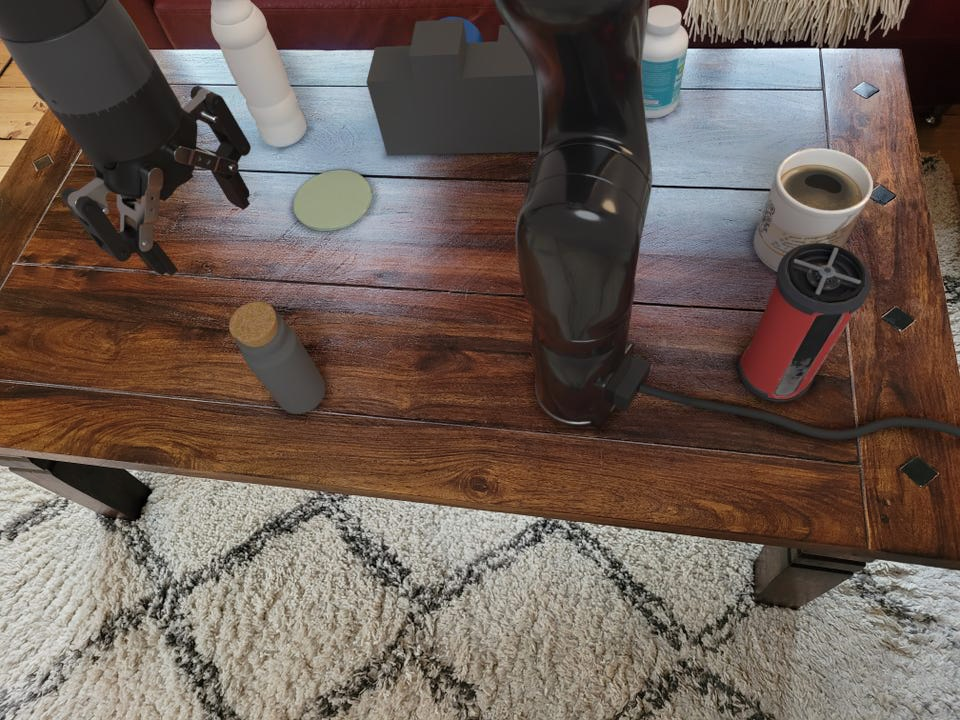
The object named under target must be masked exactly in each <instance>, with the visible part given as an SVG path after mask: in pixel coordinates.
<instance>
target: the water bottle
mask: <svg viewBox="0 0 960 720" xmlns="http://www.w3.org/2000/svg"><path fill="white" fill-rule="evenodd" d="M210 2H211V7H210V15H211V17H210V29H211V34H212V36H213V38H214V41H215V42H216V43H217V44H218V45H219V49H220V51H221V53H222V57H223V58H224V61H225V63H226V66H227V67H228V70H229V72H230V75H231V76H232V78H233V80H234V82H235V84H236V86H237V88H238V90H239V91H240V94H241V95H242V97H243V99H244V100H245V103H246V107H247V109H248V112H249V114H250V115H251V118H252V119H253V120H254V122H255V125H256V126H255V127H256V128H257V131H258V133H259V136H260V137H261V140H262V141H263V142H264V143H265V144H266V145H268V146H270V147H275V148H286V147H290V146H293V145H294V144H296V143H298V142H299V141H300V140H302V139H303V137H304V136H305V134H306V132H307V129H308V125H307V121H306V118H305V115H304V114H303V111H302V110H301V107H300V106H299V102H298V98H297V96H296V94H295V91H294V89H293V87H292V86H291V84H290V81H289V78H288V75H287V71H286V68H285V65H284V63H283V61H282V58H281V55H280V53H279V51H278V48H277V46H276V43H275V41H274V39H273V37H272V35H271V32H270V30H269V29H268V24H267V20H266V17H265V14H264V13H263V12H262V10H260V8H259V7H258V6H256V5H255V4H254V3H253V2H252V1H251V0H210Z"/></svg>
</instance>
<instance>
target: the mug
mask: <svg viewBox="0 0 960 720" xmlns="http://www.w3.org/2000/svg"><path fill="white" fill-rule="evenodd" d="M873 191H874V181H873V177H872V175H871V172H870V171H869V169H868V168H867V167H866V165H864V164H863V163H862V162H861V161H860V160H858V159H857V158H855V157H854V156H852V155H849V153H845V152H843V151H841V150H836V149H833V148H832V149H831V148H826V147H824V148H823V147H802V148H801V149H800V150H798V151H795V152H793V153H791V154H790V155H788V156H787V157H786V158H784V160H783V161H781V163H780V164H779V166H778V168H777V170H776V173H775V175H774V179H773V182H772V184H771V187H770V190H769V193H768V194H767V198H766V201H765V203H764V207H763V210H762V212H761V214H760V218H759V221H758V223H757V226H756V228H755V232H754V235H753V239H752V240H753V248H754V251H755V254H756V256H757V258H759V260H760V261H761V263H763V264H764V265H765V266H767V267H768V268H769V269H771V270H772V271H774V272H776V273H777V270H778V266H779V263H780V261H781V259H782V258H783V257H784V255H785V254H786V253H787V252H789V251H790V250H792V249H794V248H795V247H798V246H800V245H804V244H810V243H825V244H831V245H836V246H839V247H841V248H844V247H845V245H846V243H847V241H848V240H849V238H850V236H851V234H852V232H853V230H854V228H855V226H856V225H857V223H858V221H859V219H860V217H861V215H862V213H863V211H864V209H865V208H866V206H867V204H868V202H869V201H870V199H871V197H872V194H873Z"/></svg>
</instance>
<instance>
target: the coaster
mask: <svg viewBox="0 0 960 720" xmlns="http://www.w3.org/2000/svg"><path fill="white" fill-rule="evenodd" d="M372 200H373V191H372V188H371V185H370V184H369V182H368V180H367V179H366V178H365V177H364V176H363V175H362V174H359V173H357V172H354V171H351V170H348V169H347V170H346V169H334V170H329V171H325V172H322V173H319V174H317V175H315V176H313V177H311V178H310V179H309V180H307V181H305V183H304V184H302V186H301V187H299V189H298V190H297V192H296V194H295V196H294V198H293V205H292V207H293V212H294V214H295V217H296V218H297V220H298V221H299V223H301V224H302V225H303V226H304V227H306V228H308V229H311V230H314V231H319V232H332V231H337V230H341V229H344V228H347V227H349V226H351V225H353V224H354V223H356V222H357V221H358V220H360V219H361V218H362V217H363V216H364V215H365V214H366V212H367V211H368V210H369V208H370V206H371V203H372Z"/></svg>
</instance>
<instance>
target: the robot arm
mask: <svg viewBox="0 0 960 720" xmlns="http://www.w3.org/2000/svg"><path fill="white" fill-rule="evenodd" d="M492 1H493V3H494V5H495V7H496V9H497V11H498V13H499V16H500V17H501V19H502V21H503V23H504V25H507V27H508V29H509V30H510V32H511V33H512V35H513V36H514V38H515V39H516V41H517V42H518V43H519V45H520V46H521V48H522V49H523V51H524V52H525V54H526V56H527V57H528V59H529V61H530V64H531V66H532V69H533V73H534V76H535V81H536V87H537V95H538V106H539V126H540V139H539V151H538V153H537V157H536V161H535V165H534V168H533V171H532V174H531V177H530V179H529V182H528V186H527V189H526V192H525V194H524V198H523V200H522V204H521V207H520V210H519V212H518V214H517V215H518V216H517V220H516V223H515V224H516V225H515V239H514V241H515V252H516V261H517V267H518V274H519V280H520V281H519V282H520V286H521V287H520V288H521V291H522V295H523V297H524V299H525V301H526V302H527V303H528V305H529V307H530V308H529V309H530V323H531V338H532V340H531V341H532V353H533V367H534V368H533V369H534V393H535V398H536V401H537V404H538V406H539V408H540V409H541V410H542V412H543V413H544V414H545V415H546V416H547V417H548V418H550V420H553V421H554V422H556V423H558V424H559V425H563V426H566V427H569V428H570V427H572V428H587V427H592V428H593V429H594V428H595V429H596V430H601V429H602V428H603V427H604V426H605V424H606V422H607V420H608V419H609V417H610V416H611V415H612V413H613V412H614V411H615V409H617V407H618V408H620V409H622V410H624V411H627V410H628V408H630V406H631V404H632V402H633V401H634V399H635V397H636V396H637V394H638V393H640V394H643V395H647V396H651V397H654V398H657V399H659V400H664V401H668V402H672V403H676V404H679V405H684V406H689V407H694V408H698V409H703V410H709V411H715V412H720V413H726V414H731V415H736V416H740V417H747V418H751V419H756V420H759V421H763V422H767V423H770V424H774V425H777V426H780V427H783V428H785V429H788V430H790V431H793V432H795V433H799V434H802V435H804V436H809V437H812V438H816V439H823V440H831V441H841V440H842V441H843V440H850V439H855V438H860V437H862V436H865V435H869V434H872V433H874V432H875V433H876V432H878V431H881V430H885V429H890V428H917V429H926V430H931V431H936V432H940V433H945V434H947V435H948V434H949V435H951V436H954V437H956V438H958V439H960V426H958V425H955V424H953V423H948V422H945V421H940V420H935V419H929V418H921V417H908V416H892V417H887V418H882V419H878V420H877V419H876V420H874V421H872V422H868V423H865V424H863V425H860V426H856V427H853V428H847V429H825V428H820V427H814V426H811V425H808V424H805V423H802V422H799V421H797V420H793V419H790V418H788V417H785V416H782V415H780V414H777V413H773V412H770V411H765V410H761V409H756V408H752V407H747V406H742V405H738V404H731V403H726V402H720V401H714V400H709V399H705V398H699V397H694V396H690V395H686V394H681V393H677V392H674V391H669V390H667V389H662V388H659V387H655V386H652V385H649V384H647V383H645V382H646V380H647V379H648V377H649V375H650V370H651V367H652V363H651V362H649V361H646V360H645V359H642V358H640V357H638V356H636V355H634V356H633V354H634V349H635V343H634V342H633V341H631V340H629V339H628V337H629V332H630V331H629V330H630V324H631V318H632V313H633V312H632V311H633V305H634V299H635V293H636V282H635V281H636V280H635V279H636V273H637V267H638V261H639V254H640V248H641V242H642V237H643V232H644V228H645V222H646V219H647V213H648V209H649V204H650V199H651V192H652V187H653V166H652V157H651V149H650V142H649V134H648V126H647V118H646V116H645V107H644V97H643V86H642V57H643V48H644V41H645V34H646V27H647V20H648V12H649V9H650V1H651V0H492ZM0 40H1V42H2V43H3V45H4V47H5V48H6V49H7V51H8V53H9V55H10V57H11V58H12V60H13V61H14V63H15V65H16V66H17V68H18V70H19V71H20V72H21V74H22V75H23V76H24V77H25V79H26V80H27V82H28V83H29V86H30V88H31V90H32V91H33V92H34V94H35V95H36V96H37V97H38V98H39V99H41V101H42V102H44V103H45V104H46V106H47V107H48V108H49V110H50V111H51V112H52V113H53V115H54V116H55V118H56V119H57V120H58V121H59V123H60V124H61V125H62V127H63V128H64V129H65V131H66V132H67V133H68V134H69V136H70V137H71V138H72V139H73V141H74V142H75V143H76V145H77V146H78V147H79V148H80V150H81V151H82V153H83V154H84V155H85V156H86V157H87V159H88V160H89V161H90V162H91V164H92V166H93V170H94V177H95V178H94V179H92V180H91V181H89V182H88V183H87V184H85V185H84V186H82V187H81V188H80V189H76V188H74V187H67V188H64V190H63V191H61V196H60V197H61V200H62V202H63V203H64V205H66V207H67V208H68V210H69V211H70V212H71V213H72V215H73V216H74V217H75V219H76V220H77V221H78V222H79V224H80V225H81V226H82V228H83V229H84V231H86V233H87V234H88V235H89V237H90V238H91V239H92V241H93V242H94V243H95V245H96V246H97V247H98V248H99V249H100V250H102V251H103V252H105V253H106V254H108V255H109V256H111V257H112V258H114V259H115V260H117V261H118V262H121V263H125V262H127V261H128V260H129V259H130V258H131V256H132V255H133V254H136V255H137V256H138V257H139V258H140V260H141V261H142V262H143V263H144V265H145V267H147V268H149V269H151V270H152V271H154V272H155V273H157V274H158V275H161V276H164V275H165V274H168V275H169V276H170V277H173V276H174V275H175V274H176V273H177V272H178V271H179V269H178V267H177V266H176V265H175V264H174V262H173V261H172V259H171V258H170V257H169V255H167V253H166V252H165V250H163V248H162V247H161V245H160V244H159V243H158V242H157V241H155V240H154V238H155V224H157V223H159V220H160V205H161V204H160V203H161V202H160V201H163V202H166V201H167V200H168V199H169V198H170V197H171V196H172V195H173V194H174V192H175V191H176V190H177V189H178V188H179V187H181V186H182V185H185V184H186V183H187V182H189V181H190V180H191V179H192V178H194V174H193V173H194V170H195V169H196V167H197V168H200V169H204V170H207V171H210V172H211V174H212V175H213V178H214V179H215V181H216V182H217V183H218V186H219V187H220V189H221V191H222V193H223V194H224V196H225V198H226V199H227V200H228V202H229V203H231V204H232V205H233V206H235V207H237V208H239V209H241V210H243V211H244V210H246V209H247V208H248V207H249V206H250V205H251V203H250V201H249V198H250V197H251V196H250V190H249V188H248V186H247V184H246V182H245V181H244V178H243V177H242V175H241V172H240V171H239V162H240V160H241V158H242V156H243V157H246V156H248V155H249V154H250V153H251V150H252V146H251V144H250V141H249V140H248V139H247V136H246V135H245V133H244V132H243V130H242V128H241V126H240V125H239V123H238V121H237V120H236V118H235V116H234V114H233V113H232V111H231V110H230V108H229V106H228V104H227V102H226V100H225V99H224V98H223V96H222V95H219V94H218V93H215V92H214V91H211V90H210V89H207V88H205V87H202V86H200V85H195V86H193V87H192V88H191V90H190V100H189V102H187V103H186V104H185V105H184V106H183V107H182V105H181V102H180V100H179V99H178V97H177V95H176V94H175V92H174V90H173V88H172V87H171V84H170V83H169V81H168V80H167V78H166V76H165V74H164V72H163V71H162V69H161V67H160V65H159V64H158V62H157V59H155V57H154V55H153V54H152V51H151V50H150V48H149V46H148V44H147V42H146V41H145V39H144V37H143V36H142V34H141V33H140V31H139V29H138V27H137V26H136V24H135V22H134V20H133V18H132V17H131V16H130V14H129V13H128V12H127V10H126V9H125V8H124V6H123V5H122V3H120V1H119V0H0ZM197 121H201V122H202V123H204V124H206V125H208V127H209V128H210V129H211V131H212V133H213V135H214V136H215V138H216V139H217V141H218V142H219V146H218V147H217V149H216V150H213V149H210V148H207V147H203V146H200V145H197V144H198V122H197ZM110 193H113V194H115V195H116V208H117V210H118V211H119V215H120V216H119V217H120V218H119V219H120V221H119V232H118V230H117V229H116V228H115V226H114V224H113V223H112V222H111V220H110V219H109V218H108V216H107V215H109V213H110V208H109V204H108V201H107V198H108V195H109V194H110ZM137 200H140V203H139V201H137Z"/></svg>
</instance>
